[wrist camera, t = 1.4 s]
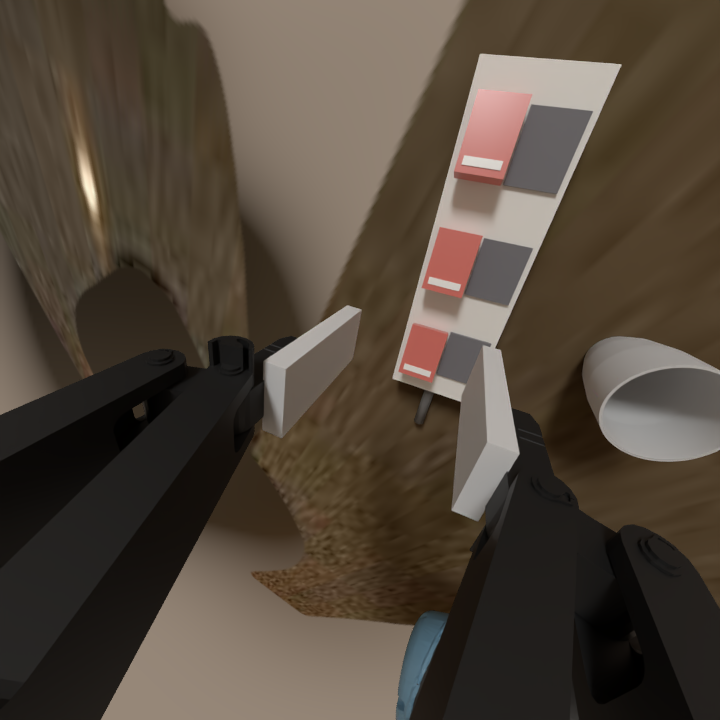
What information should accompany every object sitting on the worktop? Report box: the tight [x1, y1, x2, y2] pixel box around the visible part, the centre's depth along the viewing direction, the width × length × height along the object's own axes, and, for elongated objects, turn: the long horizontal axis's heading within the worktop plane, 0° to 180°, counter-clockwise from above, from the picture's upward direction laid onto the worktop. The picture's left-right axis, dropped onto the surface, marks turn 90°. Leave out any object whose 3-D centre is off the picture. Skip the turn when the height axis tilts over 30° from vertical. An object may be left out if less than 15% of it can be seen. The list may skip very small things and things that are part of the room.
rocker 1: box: [398, 323, 448, 383], centre depth 30 cm, size 5×4×2 cm
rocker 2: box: [422, 227, 483, 298], centre depth 26 cm, size 5×4×2 cm
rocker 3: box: [454, 89, 532, 186], centre depth 22 cm, size 5×4×2 cm
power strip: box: [393, 54, 622, 424], centre depth 30 cm, size 34×9×4 cm, turn 169°
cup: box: [582, 337, 720, 462], centre depth 25 cm, size 8×8×10 cm
